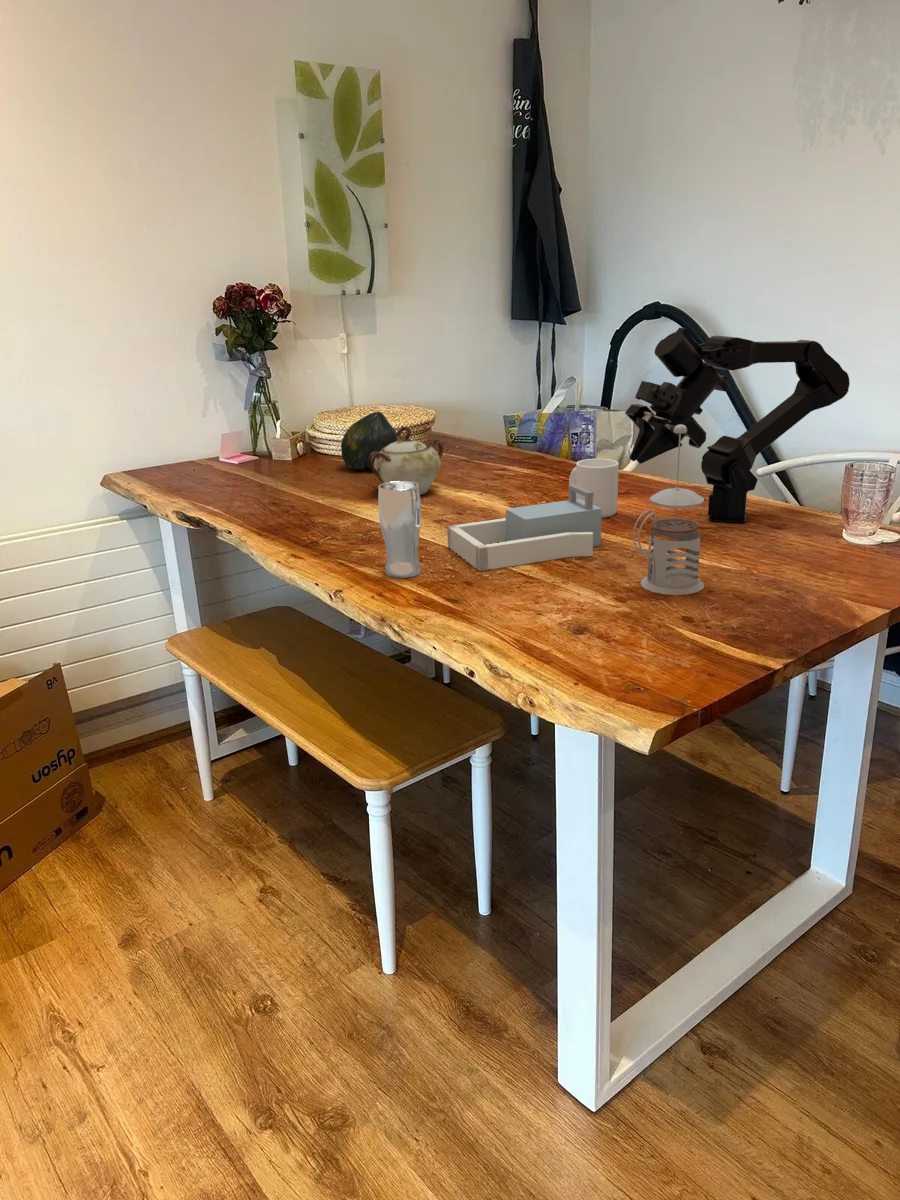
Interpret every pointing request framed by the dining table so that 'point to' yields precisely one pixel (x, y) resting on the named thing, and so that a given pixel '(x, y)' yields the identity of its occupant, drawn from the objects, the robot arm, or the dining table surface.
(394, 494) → the beer glass
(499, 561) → the bay
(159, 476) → the dining table surface
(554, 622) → the dining table surface
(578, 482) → the mug
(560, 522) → the box with loop handle
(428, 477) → the sugar bowl
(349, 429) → the squash
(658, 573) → the french press
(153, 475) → the dining table surface
